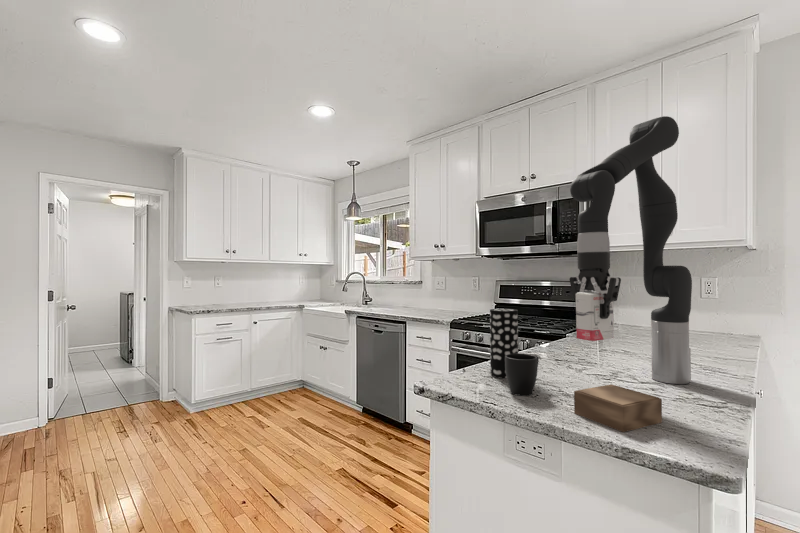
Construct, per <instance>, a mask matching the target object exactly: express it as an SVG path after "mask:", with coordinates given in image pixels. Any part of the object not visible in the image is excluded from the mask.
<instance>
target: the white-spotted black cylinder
mask: <svg viewBox="0 0 800 533" xmlns="http://www.w3.org/2000/svg"><path fill="white" fill-rule="evenodd" d="M489 333H490V334H489V342H490V343H489V348H490V350H489V355H490V359H489V360H490V362H489V364H490V367H489V368H490V376H492V377H493V378H498V379H506V380H507V377H506V371H505V355H508V354H519V310H518V309H515V308H491V309H489Z"/></svg>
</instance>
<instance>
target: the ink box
mask: <svg viewBox="0 0 800 533" xmlns="http://www.w3.org/2000/svg"><path fill="white" fill-rule="evenodd" d="M603 295H604V294H603ZM600 304H601V303H600V300H599V295H598V294H596V292H595V291H593V292H577V293H576V299H575V314H576V315H575V320H576V325H575V326H576V339H577V340H579V339H580V340H584V341H590V342H595V341H596V342H597V341H603V340H604V341H605V340H609V339H610V340H611V339H614V338H615V336H614V335H615V333H614V332H615V326H614V323H615V320H614V301H613V302H611V303H610V315H609V316H608V318H607V319H601V318H600Z"/></svg>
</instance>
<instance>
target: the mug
mask: <svg viewBox="0 0 800 533" xmlns="http://www.w3.org/2000/svg"><path fill="white" fill-rule="evenodd" d="M538 366H539V356H537V354H528V353H518V354H508V355H505V371H506V377H507V379H506V380H507V384H508V387H509V392H510V393H511V394H512V395H515V396H520V397H525V396H531V395H533V394H534V393H533V392H534V388H535V385H536V382H537V379H538V377H537V376H538V368H539V367H538Z"/></svg>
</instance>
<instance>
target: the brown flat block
mask: <svg viewBox="0 0 800 533" xmlns="http://www.w3.org/2000/svg"><path fill="white" fill-rule="evenodd" d="M573 395H574V396H573V400H574V401H573V402H574V409H573V410H574V413H573V414H575V415H578V416H580V417H583V418H585V419H588V420H590V421H593V422H596V423H598V424H601V425H604V426H606V427H609V428H612V429H614V430H616V431H620V432H622V433H625V432H630V431H634V430H637V429H641V428H645V427H646V428H647V427H651V426H653V425H659V424H662V423H663V406H662V405H663V404H662V402H663V401H662V400H663V399H662V398H661V397H658V396H655V395H651V394H647V393H644V392H641V391H637V390H633V389H629V388H625V387H622V386H618V385H614V384H612V383H611V384H606V385H605V384H604V385H600V386H595V387H589V388H583V389H577V390H574V391H573Z"/></svg>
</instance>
